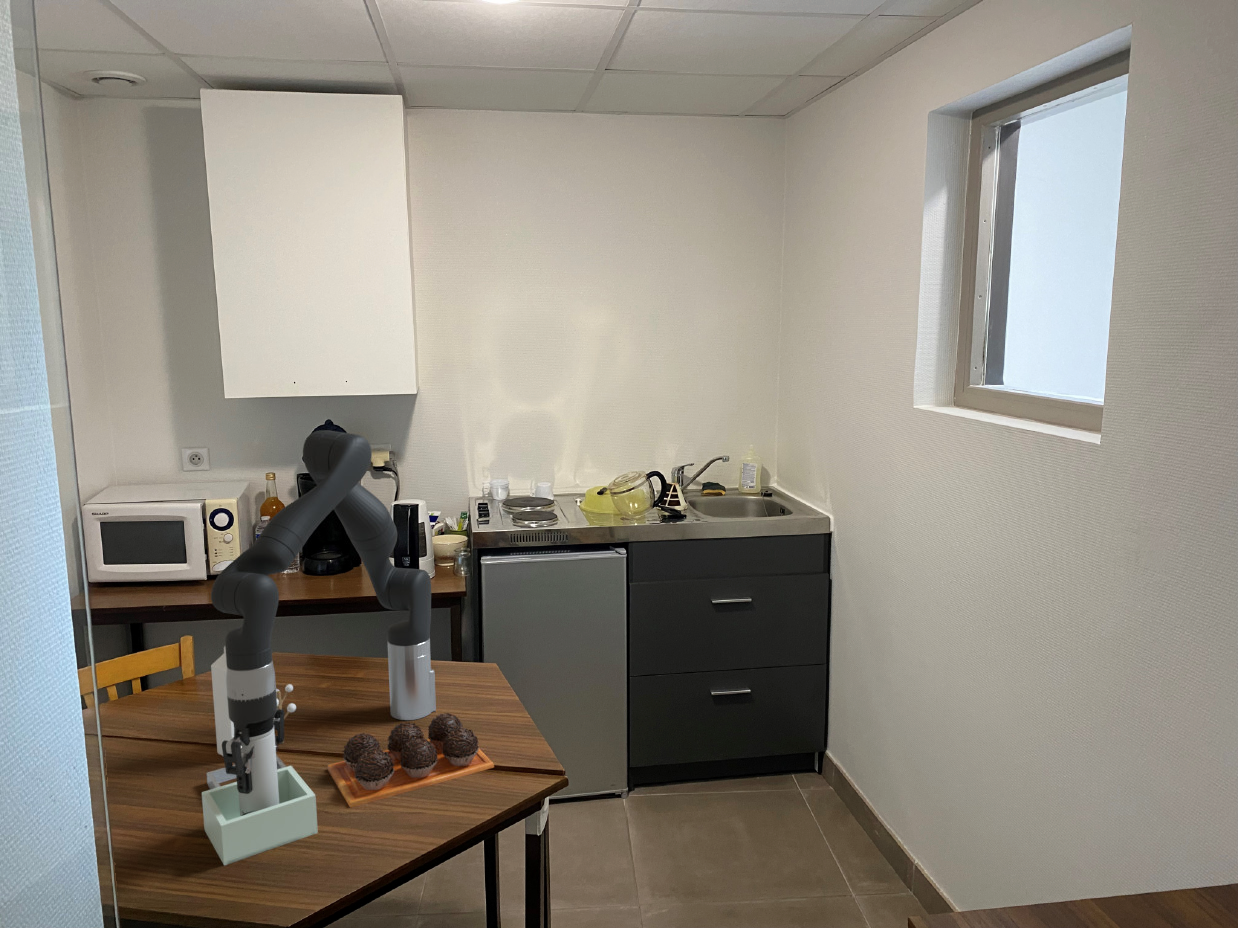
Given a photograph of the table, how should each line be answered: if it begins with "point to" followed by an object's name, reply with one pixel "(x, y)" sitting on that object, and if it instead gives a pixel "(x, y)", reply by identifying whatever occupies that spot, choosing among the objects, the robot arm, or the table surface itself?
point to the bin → (259, 818)
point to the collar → (228, 775)
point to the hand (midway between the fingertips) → (258, 781)
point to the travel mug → (261, 768)
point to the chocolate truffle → (407, 760)
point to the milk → (221, 702)
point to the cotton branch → (290, 707)
